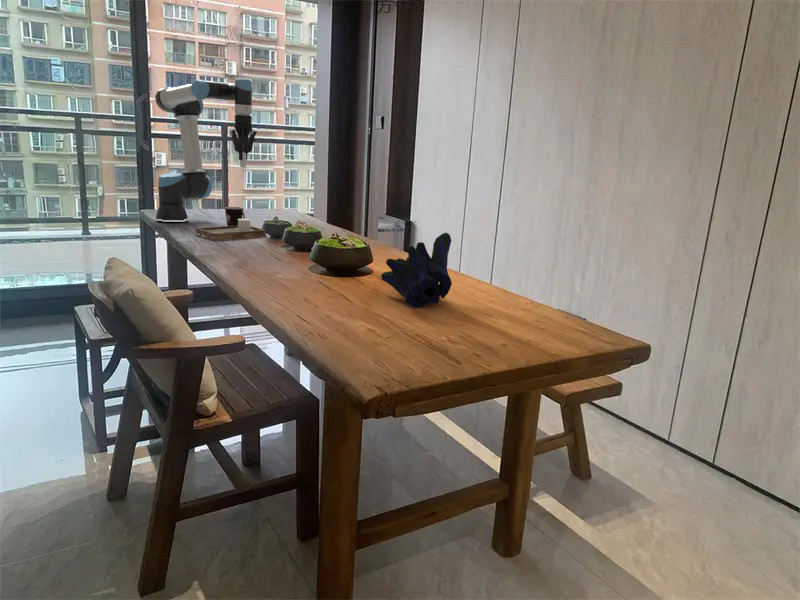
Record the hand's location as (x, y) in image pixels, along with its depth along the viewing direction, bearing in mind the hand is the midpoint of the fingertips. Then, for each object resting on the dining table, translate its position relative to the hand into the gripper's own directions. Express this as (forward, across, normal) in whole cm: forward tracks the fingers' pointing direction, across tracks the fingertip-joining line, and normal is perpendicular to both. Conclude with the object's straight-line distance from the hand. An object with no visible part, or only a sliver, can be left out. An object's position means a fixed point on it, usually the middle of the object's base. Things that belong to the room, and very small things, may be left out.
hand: (243, 167), depth 289 cm
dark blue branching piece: (+29, -13, -132) cm, 135 cm away
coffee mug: (+30, 0, +7) cm, 31 cm away
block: (+28, -4, -9) cm, 30 cm away
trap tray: (+30, -11, -9) cm, 33 cm away
